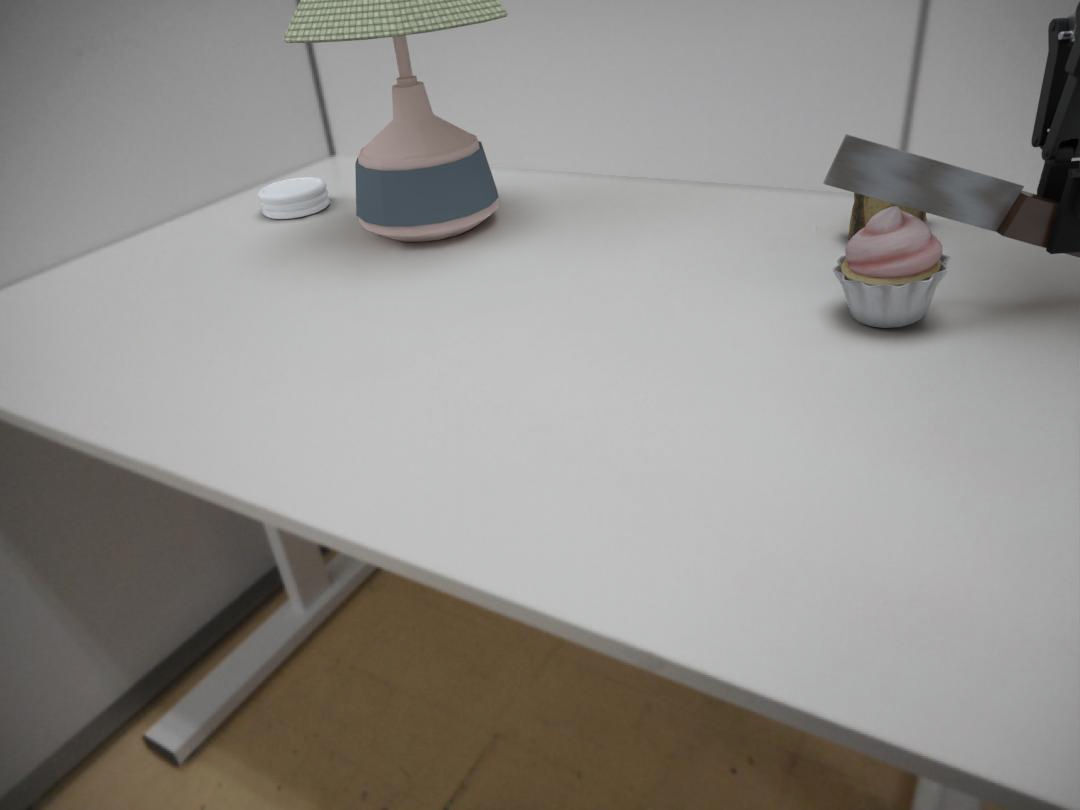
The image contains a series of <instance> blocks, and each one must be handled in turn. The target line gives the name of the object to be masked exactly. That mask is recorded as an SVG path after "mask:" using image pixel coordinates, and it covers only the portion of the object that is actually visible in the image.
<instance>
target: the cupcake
mask: <svg viewBox="0 0 1080 810" xmlns="http://www.w3.org/2000/svg"><path fill="white" fill-rule="evenodd" d="M844 253H845V255H842V256H840V257H838V258H837V259H836V262H837V265H835V266H834V267H833V268H832V272H833V274H834V275H835V277H836V279H837V280H838V282H839V284H840V285H841V288H842V290H843V294H844V297H845V300H846V303H847V306H848V310H849V313H850V315H851V316H852V318H853V319H854V320H855V321H857V322H858V323H860V324H862V325H865V326H869V327H874V328H880V329H881V328H882V329H883V328H884V329H889V328H891V329H892V328H900V327H905V326H910V325H913V324H915V323H917V322H919V321H921V320H922V319H924V317H925V315H926V314H927V313H928V311H929V309H930V306H931V302H932V300H933V297H934V295H935V292H936V289H937V287H938V285H940V283H941V282H942V280H943V279H944V278H945V276H946V275H947V274H948V272H949V271H950V268H949V267H948V265H947V264H948V262H949V261H950V260H951V256H949V255H947V254H943V244H942V242H941V241H940V239H939V238H938V237H937V236H936V235H934V234H933V233H932V229H931V227H930V226H929V224H927V222H925V223H924V222H923V221H921V220H920V219H918V218H916V217H915V216H913V215H911V214H909V213H906V212H904V211H902V210H900V209H899V207H898V206H893V207H890V208H887V209H885V210H882V211H880V212H878V213H877V214H876V215H874V216H873V217H872V218H871V219H870V220H869V221H868V223H867V224H866V227H864V228H862V229H861V230H860V231H858V232H857V233H856V234H855V235H854V236H853V237H852V238H851V239H850V238H849V241H848V242H847V243H846V246H845V249H844Z"/></svg>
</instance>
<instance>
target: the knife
mask: <svg viewBox="0 0 1080 810" xmlns="http://www.w3.org/2000/svg"><path fill="white" fill-rule="evenodd" d="M822 184H824V185H825V186H829V187H833V188H837V189H840V190H843V191H846V192H850V193H853V194H854V193H858V194H861V195H865V196H868V197H872V198H876V199H879V200H883V201H886V202H890V203H893V204H897V205H901V206H904V207H908V208H911V209H915V210H919V211H922V212H926V214H930V215H933V216H937V217H941V218H945V219H948V220H951V221H954V222H958V223H963V224H965V225H969V226H973V227H976V228H980V229H983V230H988V231H990V232H994V233H997V234H999V235H1000V236H1002V237H1004V238H1008V239H1011V240H1014V241H1019V242H1022V243H1026V244H1030V245H1032V246H1037V247H1039V248H1043V249H1047V246H1048V242H1049V239H1050V235H1051V232H1052V229H1053V225H1054V222H1055V219H1056V215H1057V212H1058V209H1059V205H1060V201H1057V200H1053V199H1050V198H1046V197H1043V196H1039V195H1037V193H1032V192H1029V191H1025V190H1024V187H1025V185H1022V184H1020V183H1017V182H1012V181H1009V180H1005V179H1002V178H998V177H994V176H992V175H988V174H984V173H981V172H977V171H974V170H971V169H968V168H964V167H961V166H957V165H954V164H949V163H947V162H943V161H940V160H937V159H932V158H929V157H927V156H923V155H919V154H916V153H913V152H909V151H905V150H903V149H898V148H896V147H892V146H888V145H886V146H885V145H884V144H883V143H878V142H874V141H871V140H868V139H864V138H861V137H858V136H855V135H851V134H844V137H843V140H842V142H841V144H840V146H839V148H838V150H837V152H836V155H835V157H834V159H833V161H832V163H831V165H830V167H829V169H828V171H827V174H826V176H825V178H824V179H823V182H822ZM1064 254H1065V255H1069V256H1073V257H1076V258H1079V259H1080V252H1072V253H1064Z"/></svg>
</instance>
